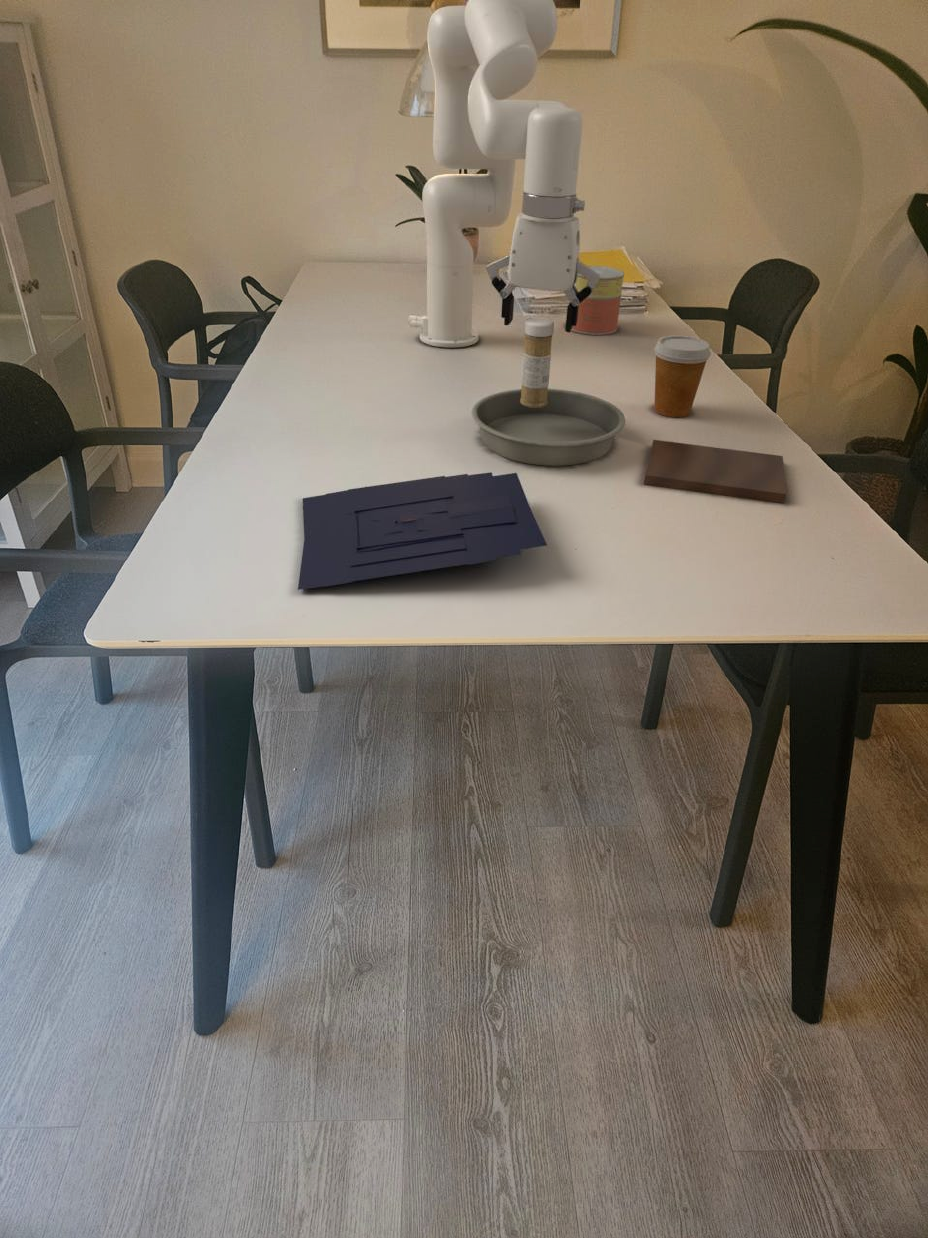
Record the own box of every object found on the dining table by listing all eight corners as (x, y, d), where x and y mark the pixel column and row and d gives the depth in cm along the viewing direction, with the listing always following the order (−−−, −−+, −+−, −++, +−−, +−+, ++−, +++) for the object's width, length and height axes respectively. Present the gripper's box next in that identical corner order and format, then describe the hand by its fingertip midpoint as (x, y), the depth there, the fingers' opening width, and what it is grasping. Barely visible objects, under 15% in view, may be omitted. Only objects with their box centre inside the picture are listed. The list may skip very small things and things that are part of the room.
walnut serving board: (643, 484, 127) (645, 474, 126) (651, 448, 138) (653, 439, 137) (783, 503, 123) (786, 494, 122) (780, 464, 134) (782, 455, 133)
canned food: (625, 326, 195) (632, 270, 189) (604, 337, 187) (611, 280, 181) (580, 317, 200) (586, 263, 193) (558, 328, 192) (563, 272, 185)
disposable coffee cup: (704, 407, 154) (717, 339, 147) (692, 424, 147) (705, 354, 140) (652, 397, 157) (662, 331, 150) (638, 414, 150) (649, 345, 143)
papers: (551, 572, 103) (550, 546, 101) (302, 610, 101) (296, 584, 99) (515, 484, 123) (513, 461, 120) (306, 514, 121) (301, 491, 119)
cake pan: (633, 424, 146) (637, 398, 144) (605, 482, 127) (609, 453, 125) (496, 403, 153) (497, 378, 150) (449, 456, 133) (450, 428, 131)
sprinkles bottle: (534, 397, 143) (540, 314, 135) (553, 405, 140) (560, 321, 133) (513, 402, 141) (518, 319, 133) (532, 411, 138) (539, 326, 130)
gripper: (611, 207, 125) (596, 325, 135) (496, 197, 128) (490, 313, 138) (604, 216, 119) (589, 339, 129) (483, 206, 122) (478, 327, 132)
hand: (538, 326), depth 134 cm, fingers open, 9 cm apart
